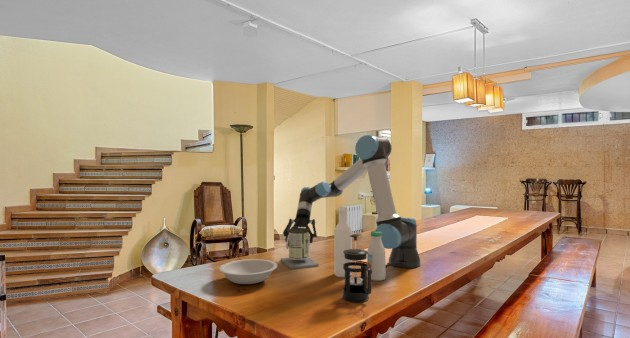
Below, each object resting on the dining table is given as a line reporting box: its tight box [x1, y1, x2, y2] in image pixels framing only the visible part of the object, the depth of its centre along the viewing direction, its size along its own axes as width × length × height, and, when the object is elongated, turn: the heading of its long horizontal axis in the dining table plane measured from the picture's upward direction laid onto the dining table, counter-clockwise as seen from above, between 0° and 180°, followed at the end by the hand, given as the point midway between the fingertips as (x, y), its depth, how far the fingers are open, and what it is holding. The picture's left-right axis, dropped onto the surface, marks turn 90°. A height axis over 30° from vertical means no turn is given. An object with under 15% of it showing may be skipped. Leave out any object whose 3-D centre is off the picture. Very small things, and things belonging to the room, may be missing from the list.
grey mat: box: [280, 257, 320, 270], centre depth 177 cm, size 18×14×1 cm
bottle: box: [333, 206, 353, 278], centre depth 157 cm, size 8×8×30 cm
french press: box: [342, 233, 372, 304], centre depth 128 cm, size 12×9×23 cm
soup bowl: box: [218, 258, 278, 285], centre depth 148 cm, size 24×24×7 cm
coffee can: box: [288, 227, 310, 260], centre depth 177 cm, size 10×10×14 cm
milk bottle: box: [366, 230, 387, 282], centre depth 152 cm, size 8×8×20 cm
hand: (297, 247), depth 174 cm, fingers closed on coffee can, 10 cm apart
